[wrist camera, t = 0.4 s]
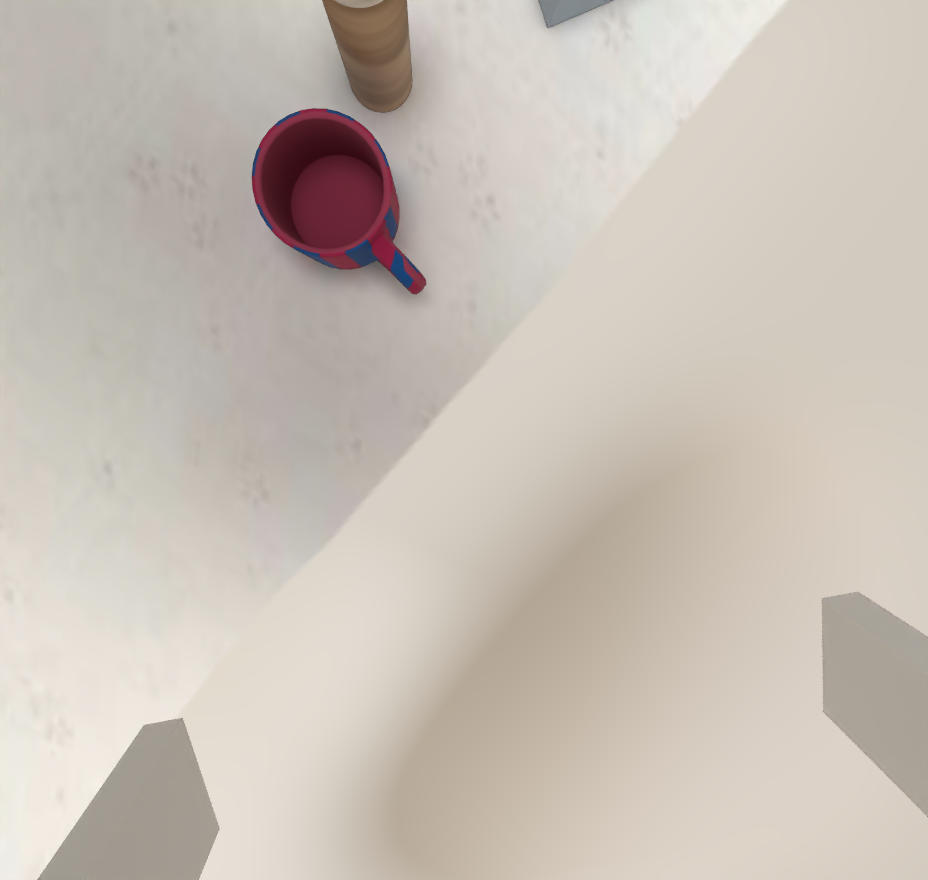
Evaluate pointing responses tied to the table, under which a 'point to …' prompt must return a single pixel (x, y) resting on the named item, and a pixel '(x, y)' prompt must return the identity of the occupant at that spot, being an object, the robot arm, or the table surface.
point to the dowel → (374, 49)
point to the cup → (331, 193)
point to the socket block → (566, 9)
